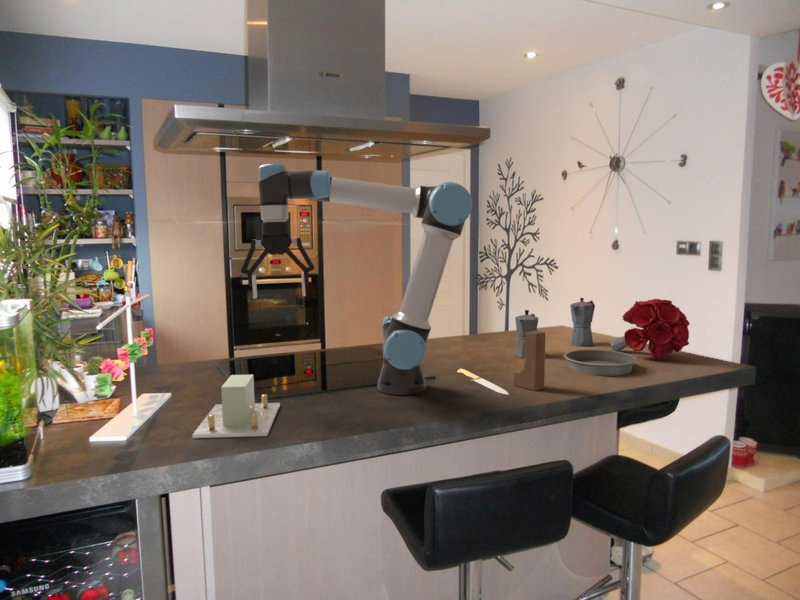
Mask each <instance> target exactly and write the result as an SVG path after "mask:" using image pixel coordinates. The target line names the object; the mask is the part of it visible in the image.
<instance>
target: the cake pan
mask: <svg viewBox="0 0 800 600" xmlns="http://www.w3.org/2000/svg"><path fill="white" fill-rule="evenodd" d="M563 357H564V359H566V360H567V361H566V362H567V365H568V368H569V369H570V370H573V371H575V372H577V373H580V374H581V373H582V374H585V375H593V376H604V377H605V376H607V377H608V376H611V377H612V376H623V375H627V374H630V373H631V372H632V371H633V367H634V364H635V363H636V362H637V361H638V358H637V357H636V356H635V355H632V354H629V353H625V352H621V351H614V350H608V349H595V348H594V349H590V348H589V349H587V348H586V349H576V350H571V351H567V352H566V353H564V354H563Z"/></svg>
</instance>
